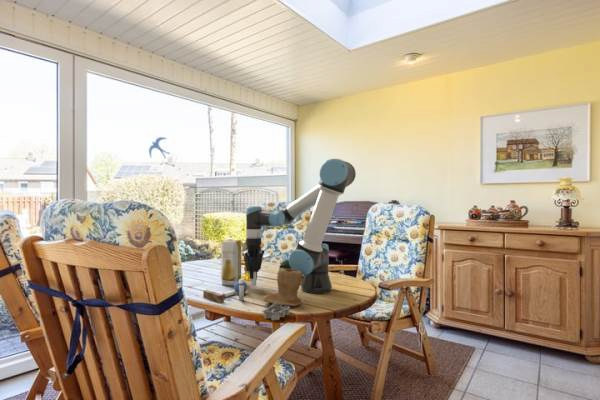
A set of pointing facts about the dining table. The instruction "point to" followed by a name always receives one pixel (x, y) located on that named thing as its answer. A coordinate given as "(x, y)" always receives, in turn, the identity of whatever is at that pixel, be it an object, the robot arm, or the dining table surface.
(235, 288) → the ball
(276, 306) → the egg carton
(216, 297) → the wall
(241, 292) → the white rounded rod
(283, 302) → the brown boot
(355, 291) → the dining table surface
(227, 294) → the white pin
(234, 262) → the juice carton
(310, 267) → the robot arm
